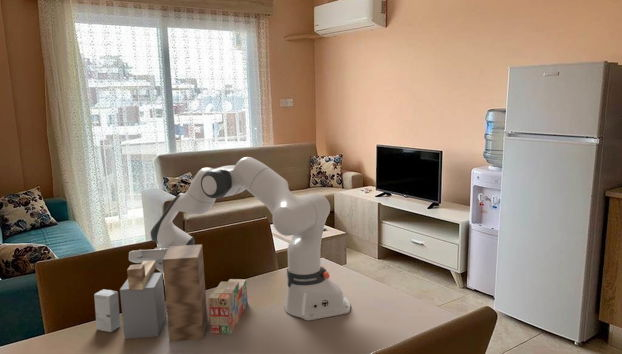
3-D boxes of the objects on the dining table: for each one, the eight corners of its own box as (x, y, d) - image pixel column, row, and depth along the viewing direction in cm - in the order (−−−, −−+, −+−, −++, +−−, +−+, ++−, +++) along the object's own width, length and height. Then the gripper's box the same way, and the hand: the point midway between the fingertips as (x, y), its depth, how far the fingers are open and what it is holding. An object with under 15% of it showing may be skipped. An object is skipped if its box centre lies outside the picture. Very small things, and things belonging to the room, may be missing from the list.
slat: (156, 267, 151) (154, 249, 150) (143, 289, 134) (141, 268, 132) (143, 268, 151) (142, 249, 150) (129, 290, 133) (127, 269, 132)
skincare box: (96, 330, 142) (92, 294, 140) (106, 323, 146) (102, 288, 144) (112, 332, 140) (108, 296, 138) (121, 325, 144) (118, 290, 142)
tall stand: (207, 319, 147) (202, 244, 143) (203, 338, 135) (197, 257, 131) (176, 322, 146) (170, 246, 141) (169, 341, 134) (162, 259, 130)
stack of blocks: (231, 303, 159) (229, 270, 157) (248, 303, 158) (246, 271, 156) (210, 334, 138) (208, 297, 136) (230, 335, 137) (228, 297, 135)
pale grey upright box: (166, 317, 149) (162, 272, 147) (158, 336, 138) (154, 287, 135) (135, 320, 148) (130, 274, 145) (124, 338, 136) (119, 289, 134)
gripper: (134, 251, 170) (123, 244, 157) (189, 248, 173) (183, 240, 160) (133, 268, 168) (122, 262, 155) (189, 264, 171) (182, 258, 158)
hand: (153, 251), depth 158 cm, fingers open, 8 cm apart
